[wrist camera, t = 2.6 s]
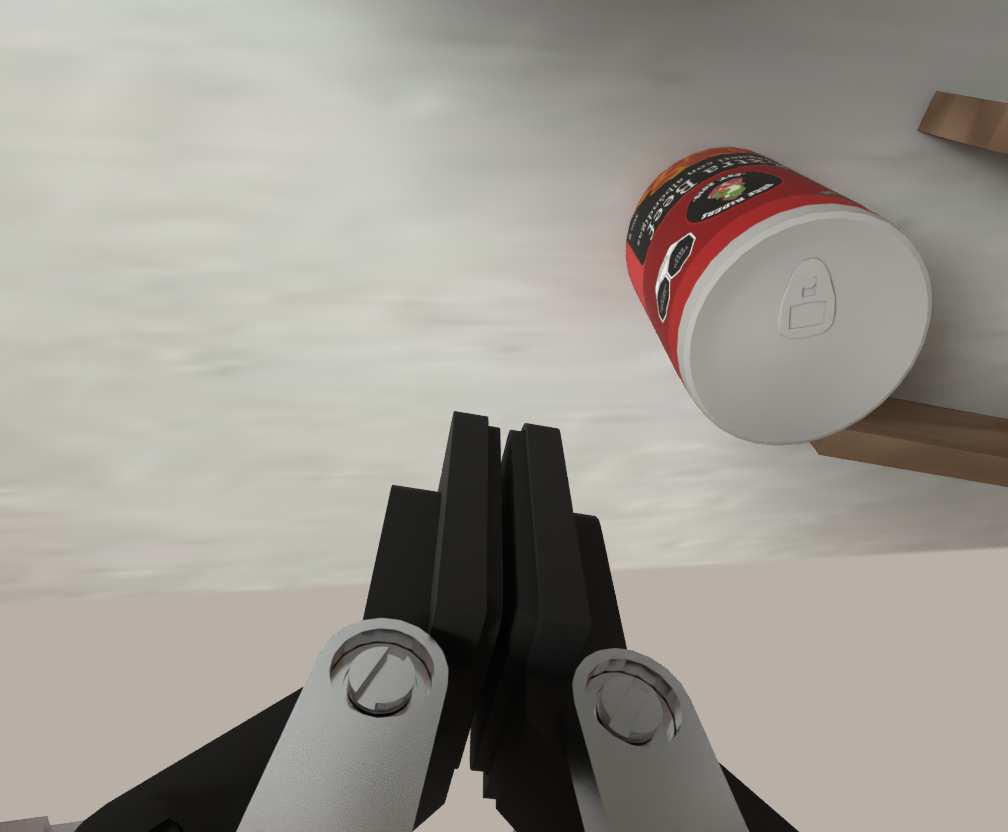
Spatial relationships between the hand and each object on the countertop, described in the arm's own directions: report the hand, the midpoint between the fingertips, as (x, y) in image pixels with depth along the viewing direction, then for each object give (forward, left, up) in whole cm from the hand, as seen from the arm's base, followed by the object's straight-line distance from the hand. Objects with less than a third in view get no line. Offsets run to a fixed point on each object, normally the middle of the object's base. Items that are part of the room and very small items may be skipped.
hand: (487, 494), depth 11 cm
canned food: (0, +10, -21) cm, 23 cm away
